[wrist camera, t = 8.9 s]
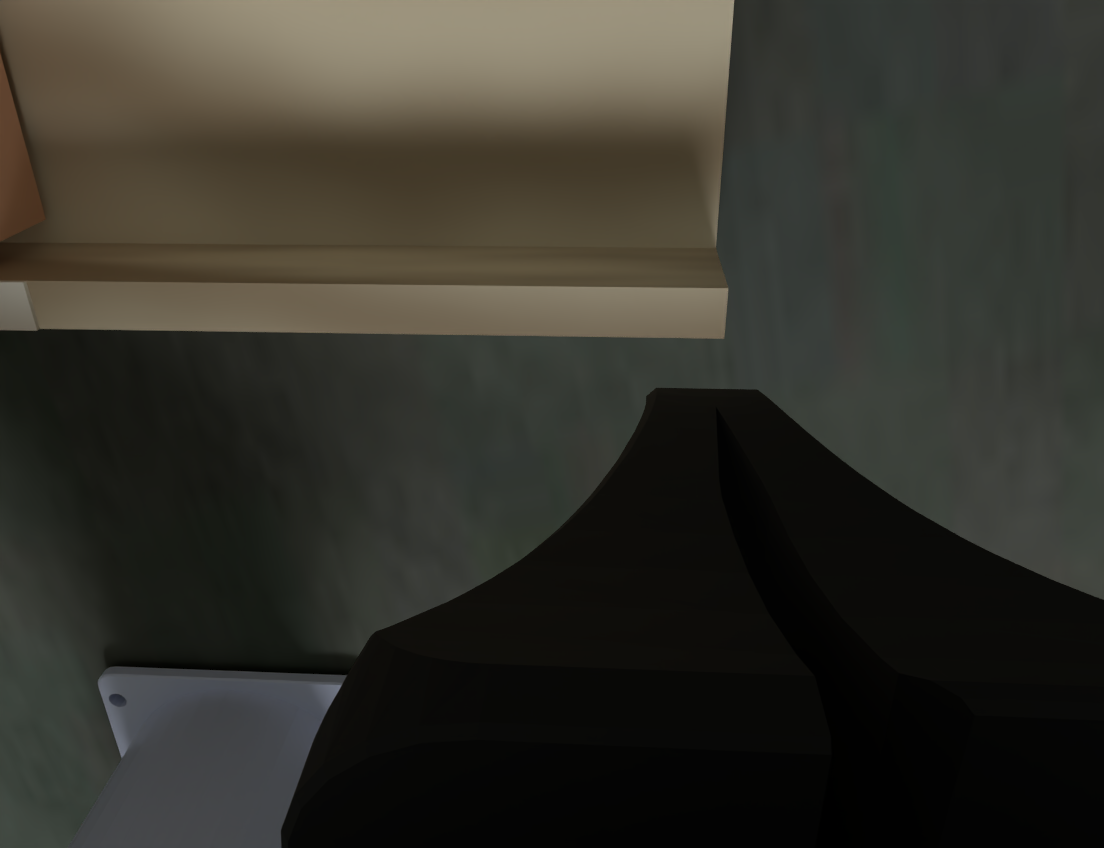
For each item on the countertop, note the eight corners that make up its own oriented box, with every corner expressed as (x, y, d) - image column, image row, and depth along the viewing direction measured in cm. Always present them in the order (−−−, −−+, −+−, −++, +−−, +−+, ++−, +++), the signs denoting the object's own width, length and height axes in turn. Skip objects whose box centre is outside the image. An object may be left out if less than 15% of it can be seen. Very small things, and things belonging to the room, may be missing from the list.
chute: (705, 320, 21) (722, 397, 17) (-432, 305, 23) (-627, 372, 19) (742, -208, 16) (777, -249, 13) (-694, -174, 18) (-1016, -203, 14)
